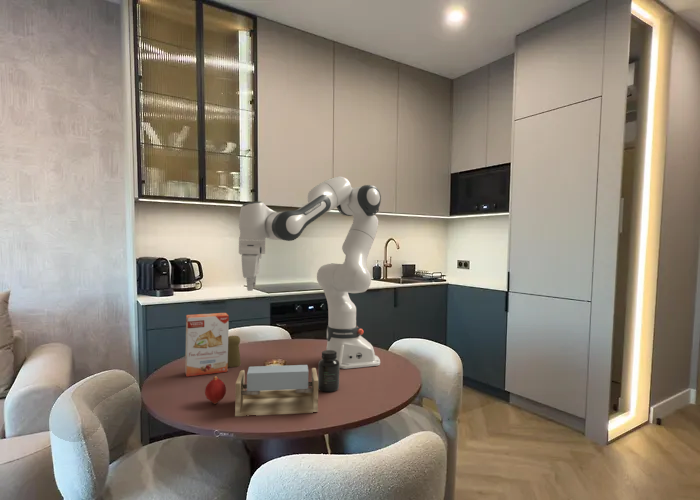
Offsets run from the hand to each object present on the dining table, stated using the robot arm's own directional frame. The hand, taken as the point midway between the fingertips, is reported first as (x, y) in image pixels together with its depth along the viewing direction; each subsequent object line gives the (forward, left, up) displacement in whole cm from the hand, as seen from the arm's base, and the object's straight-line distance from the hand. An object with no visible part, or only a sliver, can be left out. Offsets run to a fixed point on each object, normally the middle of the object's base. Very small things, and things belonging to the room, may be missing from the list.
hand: (251, 288), depth 135 cm
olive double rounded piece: (+8, -16, -31) cm, 36 cm away
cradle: (-10, +24, -31) cm, 41 cm away
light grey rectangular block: (-10, +24, -25) cm, 36 cm away
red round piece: (+8, +20, -31) cm, 38 cm away
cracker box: (+16, -8, -31) cm, 36 cm away
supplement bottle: (-26, +12, -31) cm, 42 cm away
